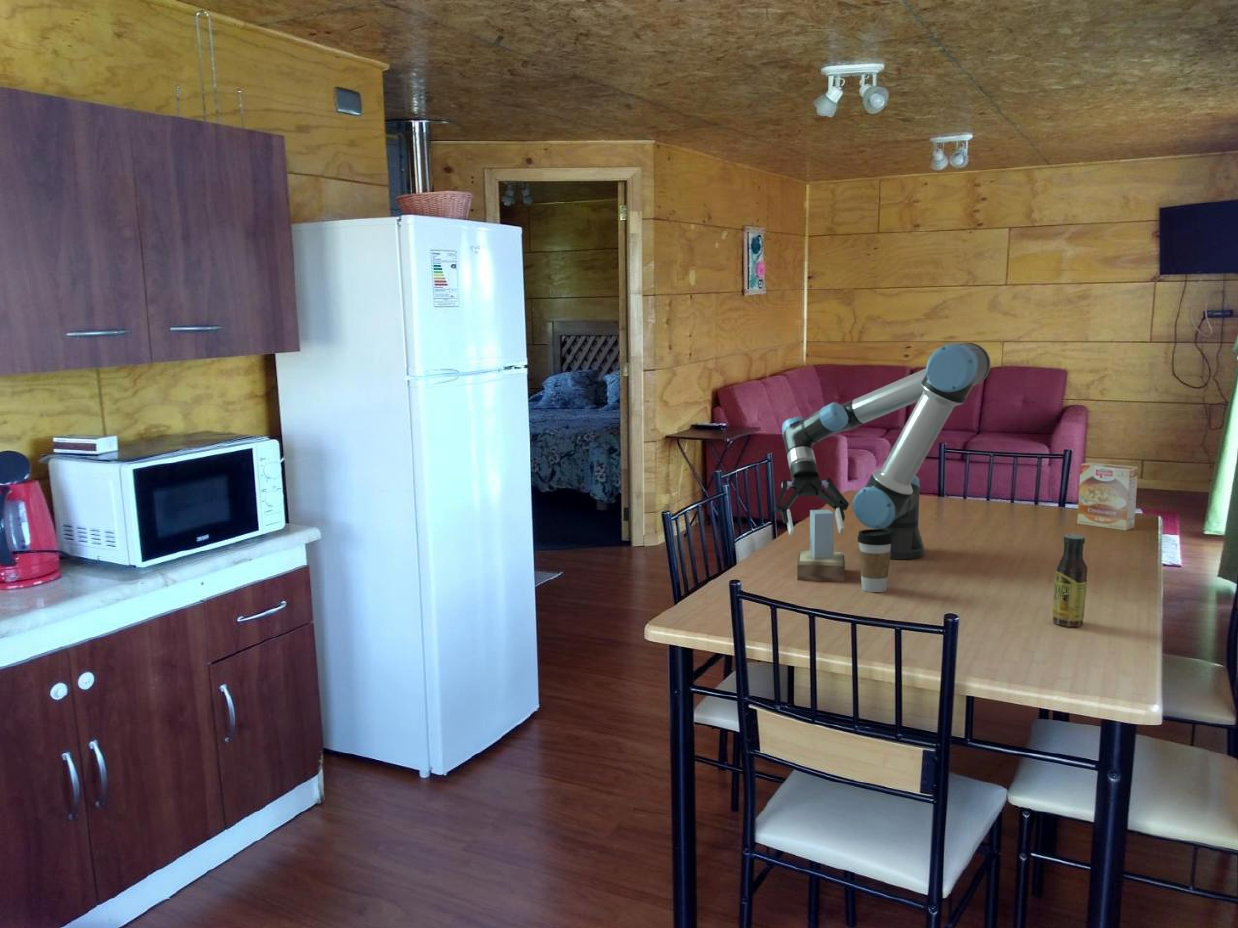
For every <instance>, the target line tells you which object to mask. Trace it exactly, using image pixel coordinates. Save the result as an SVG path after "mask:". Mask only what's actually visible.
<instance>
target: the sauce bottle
mask: <svg viewBox="0 0 1238 928" xmlns="http://www.w3.org/2000/svg"><path fill="white" fill-rule="evenodd" d="M1085 540H1086V537H1085V536H1084V535H1080V534H1076V533H1075V534H1074V533H1071V534H1070V533H1069V534H1068V533H1067V534H1065V535H1064V536H1063V552H1062V553H1063V554H1062V556H1061V558H1060V560H1059V562H1058V565H1057V566H1056V569H1055V576H1054V586H1053V587H1054V588H1053V599H1052V600H1053V603H1052V613H1051V614H1052V621H1053V623H1054V624H1055V625H1058V626H1061V627H1064V628H1078V627H1081V626H1083V624H1084V621H1083V620H1084V618H1085V608H1086V607H1085V606H1086V605H1085V604H1086V597H1087V596H1086V595H1087V584H1088V583H1087V582H1088V580H1087V576H1088V566H1087V564H1086V562H1085V560H1084V559H1083V558H1084V553H1083V551H1084V544H1085Z"/></svg>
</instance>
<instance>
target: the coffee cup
mask: <svg viewBox="0 0 1238 928" xmlns="http://www.w3.org/2000/svg"><path fill="white" fill-rule="evenodd" d="M892 540H893V538H892V531H891V530H888V529H872V528H868V529H863V530H859V531H858V536H857V542H858V544H859V545H858V546H859V548H858V557H859V569H860V580H861V581H860V583H861V590H862V591H864V592H866V591H868V592H867V593H871V592H881V593H884V591H885V592H886V591H887V586H888V578H889V577H888V576H889V570H890V569H889V568H890V562H891V559H890V555H891V550H890V547H891V543H892V542H893V541H892Z"/></svg>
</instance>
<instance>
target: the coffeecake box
mask: <svg viewBox="0 0 1238 928" xmlns="http://www.w3.org/2000/svg"><path fill="white" fill-rule="evenodd" d="M1138 471H1139V467H1138V466H1133V465H1123V464H1122V465H1121V464H1111V463H1102V462H1091V461H1088V462H1083V463H1081V464H1080V469H1079V483H1078V484H1079V487H1078V503H1077V521H1076V522H1077V525H1083V526H1090V527H1097V528H1098V527H1099V528H1104V529H1112V530H1119V531H1129V530H1130V529H1133V528H1135V518H1136V504H1137V502H1136V501H1137V492H1138V491H1137V488H1138V487H1137V486H1138V474H1139V472H1138Z"/></svg>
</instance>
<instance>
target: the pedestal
mask: <svg viewBox="0 0 1238 928" xmlns="http://www.w3.org/2000/svg"><path fill="white" fill-rule="evenodd" d="M797 558H798V559H797V567H796V568H797V569H796V571H797V574H796V575H797V581H815V582H818V581H819V582H838V583H839V582H841V583H842V582H845V581H846V580H845V579H846V564H845V563H846V562H845V561H846V560H845V555H844V554H843V551H833V558H829V559H814V558H813V557H812V556H811V555H810V550H800V553H798V555H797Z"/></svg>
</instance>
